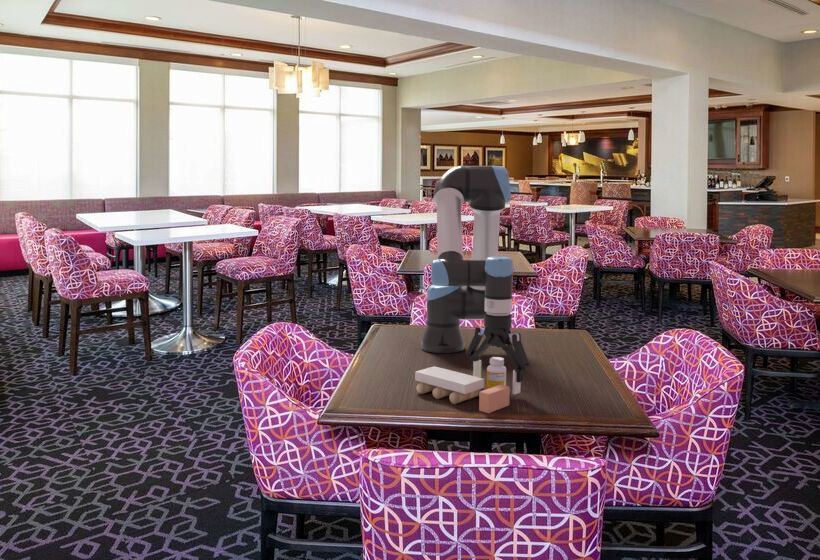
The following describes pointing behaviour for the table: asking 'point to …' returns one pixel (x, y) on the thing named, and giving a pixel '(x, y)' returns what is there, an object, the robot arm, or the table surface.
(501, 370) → the supplement bottle
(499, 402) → the block
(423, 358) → the table surface
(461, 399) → the roller bed
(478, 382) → the slab
